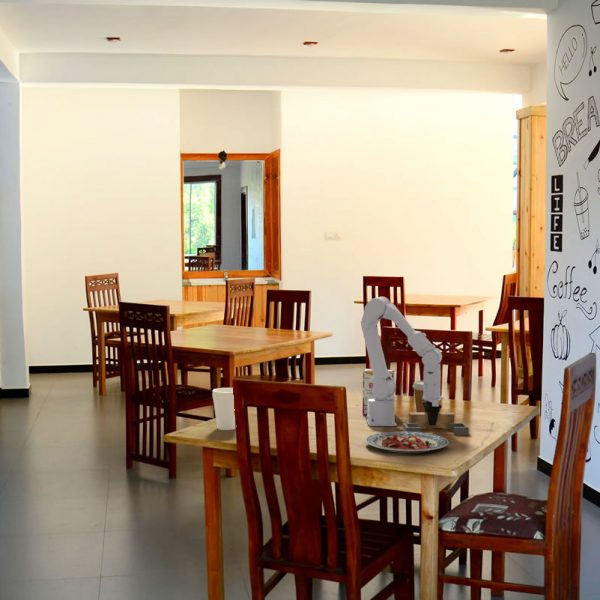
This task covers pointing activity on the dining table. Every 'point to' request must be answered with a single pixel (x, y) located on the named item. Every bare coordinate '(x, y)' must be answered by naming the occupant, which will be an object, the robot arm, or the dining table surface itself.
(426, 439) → the ceramic plate
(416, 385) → the disposable coffee cup
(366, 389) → the candy bar box
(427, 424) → the slat
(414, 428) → the end cap
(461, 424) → the end cap
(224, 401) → the foam cup
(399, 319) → the robot arm
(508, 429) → the dining table surface
